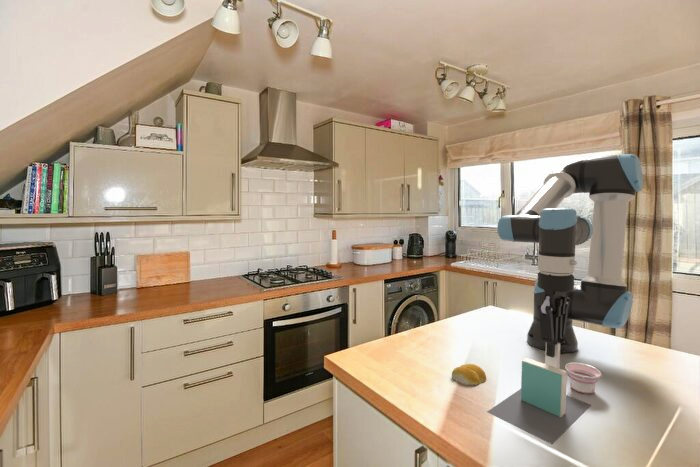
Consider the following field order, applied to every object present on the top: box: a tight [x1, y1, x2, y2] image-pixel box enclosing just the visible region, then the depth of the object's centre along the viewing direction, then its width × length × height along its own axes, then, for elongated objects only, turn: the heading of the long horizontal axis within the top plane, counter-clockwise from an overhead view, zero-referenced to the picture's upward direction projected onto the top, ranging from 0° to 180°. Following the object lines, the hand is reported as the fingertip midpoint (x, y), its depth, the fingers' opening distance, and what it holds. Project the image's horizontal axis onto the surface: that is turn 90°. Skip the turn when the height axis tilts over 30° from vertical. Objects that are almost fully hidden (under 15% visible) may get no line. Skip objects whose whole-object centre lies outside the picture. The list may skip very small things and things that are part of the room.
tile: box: [520, 357, 568, 417], centre depth 81 cm, size 9×3×10 cm, turn 38°
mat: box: [486, 388, 592, 445], centre depth 80 cm, size 14×22×1 cm, turn 128°
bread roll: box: [451, 363, 487, 386], centre depth 96 cm, size 8×9×4 cm
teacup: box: [564, 361, 602, 395], centre depth 88 cm, size 12×12×6 cm
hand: (552, 368), depth 83 cm, fingers closed
